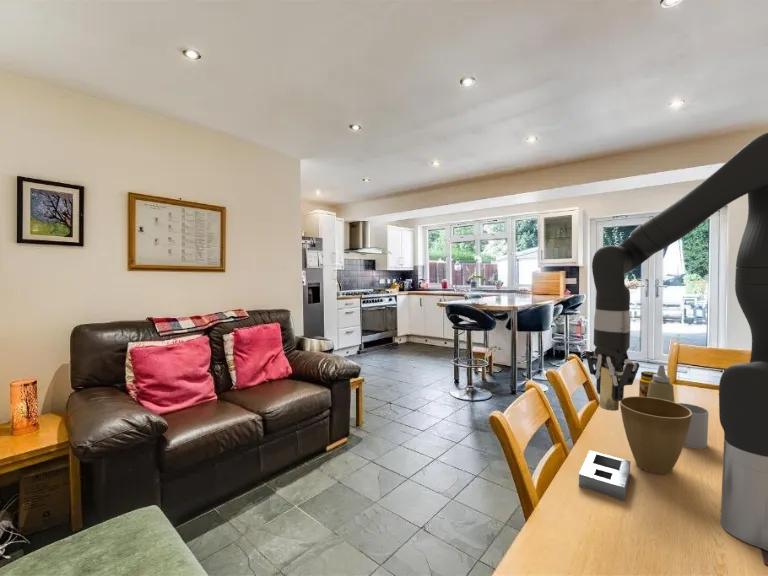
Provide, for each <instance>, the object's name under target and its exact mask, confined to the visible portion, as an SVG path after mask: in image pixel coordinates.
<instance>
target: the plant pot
mask: <svg viewBox="0 0 768 576" xmlns="http://www.w3.org/2000/svg"><path fill="white" fill-rule="evenodd" d="M678 403H679V402H671V401H668V400H663V399H658V398H652V397H640V396H639V395H637V396H636V395H635V396H625V397H623V399H622V400H621V401H619V406H620V407H619V409H620V413H621V420H622V423H623V428H624V432H625V435H626V439H627V442H628V446H629V448H630V452H631V454H632V457H633V458H634V461H635V464H636V465H637V466H638V467H639V468H641V469H643V470H644V471H647V472H650V473H653V474H659V475H668V474H671V472H672V471H673V469H674V467H675V466H676V464H677V462H678V460H679V458H680V456H681V454H682V451H683V448H684V447H685V446H684V443H685V441H686V437H687V434H688V430H689V426H690V422H691V417H692V412H691V410H690V409H688V408H687V407H685V406H683V405H680V404H678Z"/></svg>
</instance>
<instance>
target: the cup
mask: <svg viewBox="0 0 768 576" xmlns="http://www.w3.org/2000/svg"><path fill="white" fill-rule="evenodd" d="M677 403H678V404H680V405H683V406H685V407H687V408H688V409H690V410H691V412H692V417H691V422H690V426H689V430H688V434H687V437H686V441H685V443H684V446H683V447H686V448H691V449H692V448H693V449H705V448H707V447H708V435H709V434H708V432H709V431H708V429H709V411H708V410H707V409H706V408H704V407H701V406H698V405H694V404H690V403H684V402H683V403H682V402H677Z"/></svg>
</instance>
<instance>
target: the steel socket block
mask: <svg viewBox="0 0 768 576" xmlns="http://www.w3.org/2000/svg"><path fill="white" fill-rule="evenodd" d="M630 475H631V460H627V459H623V458H619V457H616V456H612V455H609V454H605V453H601V452H597V451H593V450H588V453H587V455H586V457H585V460H584V462H583V464H582V466H581V469H580V470H579V473H578V487H581V488H583V489H587V490H590V491H592V492H595V493H598V494H602V495H605V496H608V497H612V498H614V499H618V500H620V501H625V499H626V494H627V490H628V485H629V480H630Z"/></svg>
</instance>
